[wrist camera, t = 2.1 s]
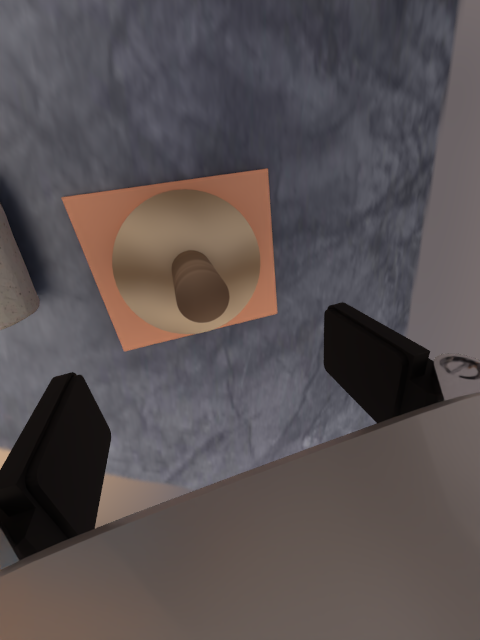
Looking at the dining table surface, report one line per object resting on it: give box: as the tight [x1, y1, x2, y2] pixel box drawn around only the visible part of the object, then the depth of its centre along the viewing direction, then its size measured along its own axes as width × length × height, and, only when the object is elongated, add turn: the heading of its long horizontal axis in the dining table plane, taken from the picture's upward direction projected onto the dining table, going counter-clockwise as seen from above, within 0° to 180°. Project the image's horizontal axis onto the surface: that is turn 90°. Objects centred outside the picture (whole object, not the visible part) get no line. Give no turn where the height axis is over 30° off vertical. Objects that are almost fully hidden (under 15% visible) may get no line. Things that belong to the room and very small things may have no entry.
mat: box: [61, 168, 277, 351], centre depth 21 cm, size 12×14×1 cm
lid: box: [112, 189, 260, 334], centre depth 18 cm, size 11×11×7 cm
